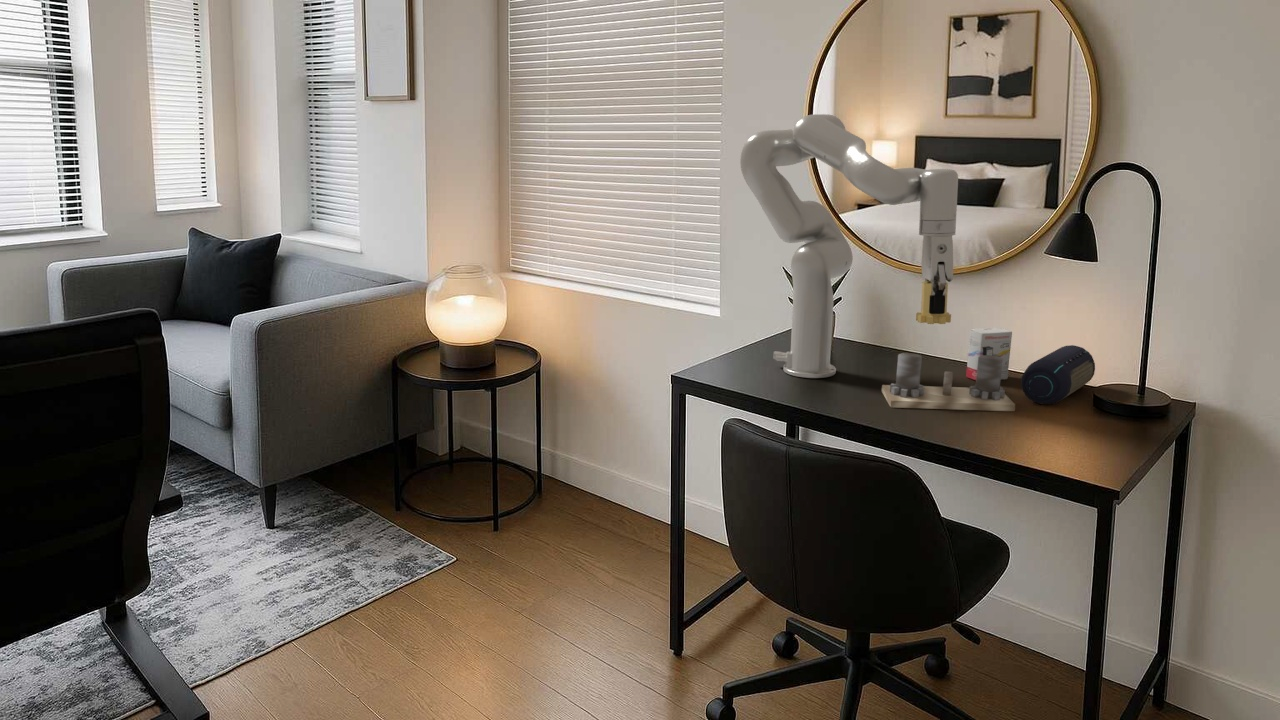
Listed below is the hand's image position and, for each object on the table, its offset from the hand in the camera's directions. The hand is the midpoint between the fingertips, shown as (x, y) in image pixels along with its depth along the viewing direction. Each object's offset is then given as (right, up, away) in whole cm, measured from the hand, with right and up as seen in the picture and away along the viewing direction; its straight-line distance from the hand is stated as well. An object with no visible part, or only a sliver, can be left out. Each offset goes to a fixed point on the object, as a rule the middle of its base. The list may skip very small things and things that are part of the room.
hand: (933, 310), depth 213 cm
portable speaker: (+30, -19, +7) cm, 36 cm away
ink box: (+18, -15, +19) cm, 31 cm away
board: (+3, -20, +1) cm, 20 cm away
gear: (0, -2, +1) cm, 2 cm away
